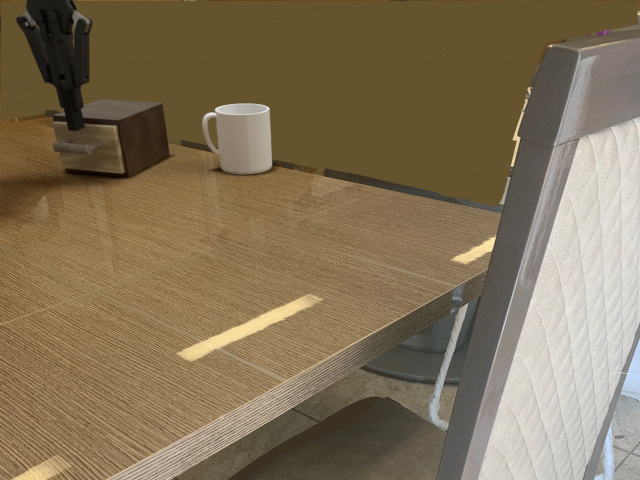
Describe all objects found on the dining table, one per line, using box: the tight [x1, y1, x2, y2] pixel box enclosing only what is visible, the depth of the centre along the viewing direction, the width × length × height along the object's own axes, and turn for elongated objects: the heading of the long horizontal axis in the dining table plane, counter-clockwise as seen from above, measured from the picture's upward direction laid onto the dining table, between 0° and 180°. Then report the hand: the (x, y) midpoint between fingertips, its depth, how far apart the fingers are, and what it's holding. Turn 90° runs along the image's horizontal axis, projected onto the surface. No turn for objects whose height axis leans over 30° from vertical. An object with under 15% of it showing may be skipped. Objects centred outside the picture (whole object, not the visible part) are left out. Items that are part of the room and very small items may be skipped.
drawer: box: [52, 121, 125, 174], centre depth 120 cm, size 20×13×8 cm, turn 162°
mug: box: [202, 103, 273, 175], centre depth 120 cm, size 13×10×10 cm
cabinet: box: [52, 98, 171, 178], centre depth 123 cm, size 16×14×10 cm
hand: (76, 128), depth 113 cm, fingers closed
